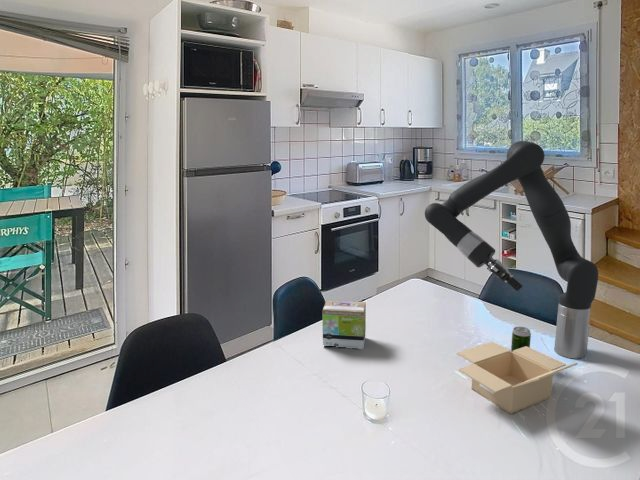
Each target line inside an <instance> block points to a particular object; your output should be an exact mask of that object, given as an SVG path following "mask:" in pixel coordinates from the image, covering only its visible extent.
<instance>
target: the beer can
mask: <svg viewBox="0 0 640 480" xmlns="http://www.w3.org/2000/svg"><path fill="white" fill-rule="evenodd" d="M512 329H513V330H512V332H511V333H512V334H511V346H510V347H511V348H510V351H512V352H513V350H516V349H519V348H522V347H525V346H527V347H529V348H531V337H532V332H531V330H530V328H527V327H525V326H515V327H513V328H512Z"/></svg>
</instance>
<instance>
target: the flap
mask: <svg viewBox="0 0 640 480" xmlns="http://www.w3.org/2000/svg"><path fill="white" fill-rule="evenodd" d="M577 365H578V362H575V363H572V364H569V365H566V366H563V367H560V368H558V369H555V370H553V371H550V372H548V373H545V374H543V375H540V376H537V377H535V378H532V379H530V380H527V381H525V382H522V383H520V384H517V385H515V387H517V386H520V385H523V384H527V383H530V382H533V381H536V380H540V379H542V378H545V377H547V376H550V375H552V374H553V375H555V374H557V373H559V372H561V371H564V370H567V369H569V368H572V367H574V366H577Z"/></svg>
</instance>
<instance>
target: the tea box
mask: <svg viewBox="0 0 640 480" xmlns="http://www.w3.org/2000/svg"><path fill="white" fill-rule="evenodd" d="M366 306H367V304H366V301H347V300H330V299H329V300H327V299H326V301H325V303H324V306H323V309H322V315H321V316H322V317H321V318H322V346H323V345H324V346H336V347H335V348H338V347H346V348H345V349H352V348H358V349H357V350H364V348H365V342H366V327H367V326H366V322H367V321H366V316H367V315H366V314H367V313H366Z"/></svg>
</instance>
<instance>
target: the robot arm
mask: <svg viewBox="0 0 640 480" xmlns="http://www.w3.org/2000/svg"><path fill="white" fill-rule="evenodd" d="M544 161H545V151H544V149H543V148H542V146H541V145H539V144H537V143H536V142H531V141H526V140H522V141H521V140H519V141H516V142H514V143H512V144H511V145H510V146H509V147H508V149H507V152H506V159H505V160H504V161H503V162H501V163H500V164H499V165H497V166H496V167H494V168H493V169H491V170H489V171H487V172H485V173H482V174H481V175H479V176H476V177H474V178H472V179H471V180H469V181H467V182H465V183H464V184H463V185H462V186H460V187H458V188H456V189H455V190H454V191H453V192H452V193H450V195H449V197H448V198H447V200H445V201H444V202H442V203H438V202H433V203H431V204H429V205H427V206H426V207H425V209H424V218H425V220H426V222H427V223H429V224H430V225H431V226H432V227H433V228H435V229H436V230H438V231H439V232H440V233H441V234H442V235H444V236H445V238H446V239H447V240H448V241H449V242H450V243H451V244H452V245H454V247H455V248H457V249H458V251H459V252H460V253H461V254H462V255H463V256H464V257H466V259H468V260H469V261H470V262H471V263H472V264H473V265H474V266H475V267H476V268H482V267H483V266H484V265H485V266H486V267H487V268H486V269H487V271H489V273H492V274H494V275H495V277H497V278H498V279H501V281H503V282H504V283H507V284H508V285H510V287H511V288H512V289H514V290H515V291H520V290H522V288H523V284H522V283H521V282H519V281H518V280H517V279H516V278H515V277H514V275H513V273H512V272H510V271H509V269H508V267H506V266H505V265H503V263H502V261H500V259H494V257H493V256H494V255H495V254H496V249H495V248H494V247H493V246H491V245H490V244H489V243H488V242H487V241H486V240H485V239H483V238H482V236H480V235H478V234H477V233H476V232H474V231H473V230H472V229H470V228H469V227H468V226H467V225H465V224H464V223H463V222H462V221H460V220H459V219H458V218H457V217H459V216H460V214H461V213H463V212H464V211H465V210H466V211H467V209H469V208H470V207H472V206H474V205H475V204H477V203H478V202H480V201H481V200H482V199H484V198H486V197H487V196H489V195H490V194H492V193H494V192H495V191H497V190H499V189H501V188H502V187H503V186H505V185H508V184H509V183H511V182H513V181H515V180H517V181H518V182H519V184H520V185H521V187H522V190H523V193H524V195H525V198H526V200H527V201H526V202H527V203H528V205H529V206H528V207H529V208H530V212H531V214H532V216H533V218H534V220H535V222H536V225H537V227H538V228H539V230H540V232H541V234H542V237H543V238H544V241H545V242H546V244H547V246H548V248H549V250H550V252H551V255H552V259H553V261H554V264H555V268H556V270H557V274H558V275H559V277H560V278H561V279H562V280H563V281H565V282H567V284H566V290H565V292H562V293H560V295H559V297H558V305H557V306H558V307H557V317H556V327H555V338H554V346H553V350H554V352H555V353H556V354H557V355H559V356H561V357H564V358H569V359H583V358H585V357H586V354H587V352H588V345H589V344H588V343H589V335H590V319H591V318H590V316H591V308H592V303H593V302H594V300H595V298H596V294H597V287H598V280H599V269H598V266H597V265H596V264H595V263H594V262H593V261H591V260H589V259H586V258H584V257H582V256H581V255H580V253H579V252H578V250H577V249H576V246H575V245H574V242H573V239H572V233H571V231H572V222H571V218H570V214H569V213H568V211H567V208H566V207H565V204H564V202H563V200H562V198H561V197H560V195H559V194H558V193H557V192H556V190H555V188H554V186H552V185H551V183H550V182H549V181H548V179H547V177H546V176H545V174H544V171H543V169H542V165H543V163H544Z"/></svg>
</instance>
